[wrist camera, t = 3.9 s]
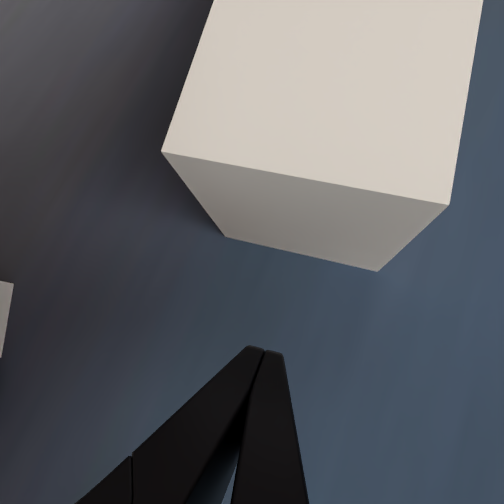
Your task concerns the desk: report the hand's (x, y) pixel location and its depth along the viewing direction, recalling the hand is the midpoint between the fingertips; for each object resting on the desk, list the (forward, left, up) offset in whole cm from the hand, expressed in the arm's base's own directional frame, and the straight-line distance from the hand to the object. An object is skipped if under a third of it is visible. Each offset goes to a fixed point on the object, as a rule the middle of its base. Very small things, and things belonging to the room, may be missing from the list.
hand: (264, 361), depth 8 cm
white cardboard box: (+4, +10, -7) cm, 14 cm away
